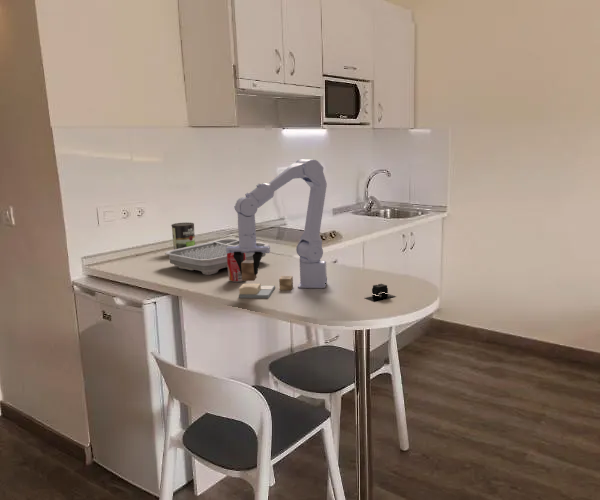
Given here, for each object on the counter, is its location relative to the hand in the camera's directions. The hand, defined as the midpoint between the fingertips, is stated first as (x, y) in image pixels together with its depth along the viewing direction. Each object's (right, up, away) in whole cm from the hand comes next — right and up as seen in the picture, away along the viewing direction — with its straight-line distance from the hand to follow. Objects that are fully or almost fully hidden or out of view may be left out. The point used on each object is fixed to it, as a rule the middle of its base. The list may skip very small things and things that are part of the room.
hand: (249, 273), depth 180 cm
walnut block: (0, -2, 0) cm, 2 cm away
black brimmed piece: (+43, -8, -6) cm, 44 cm away
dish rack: (-17, +1, +47) cm, 50 cm away
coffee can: (-37, +6, +72) cm, 81 cm away
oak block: (+12, -5, +8) cm, 15 cm away
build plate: (+3, -7, +3) cm, 8 cm away
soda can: (-6, -4, +20) cm, 21 cm away
